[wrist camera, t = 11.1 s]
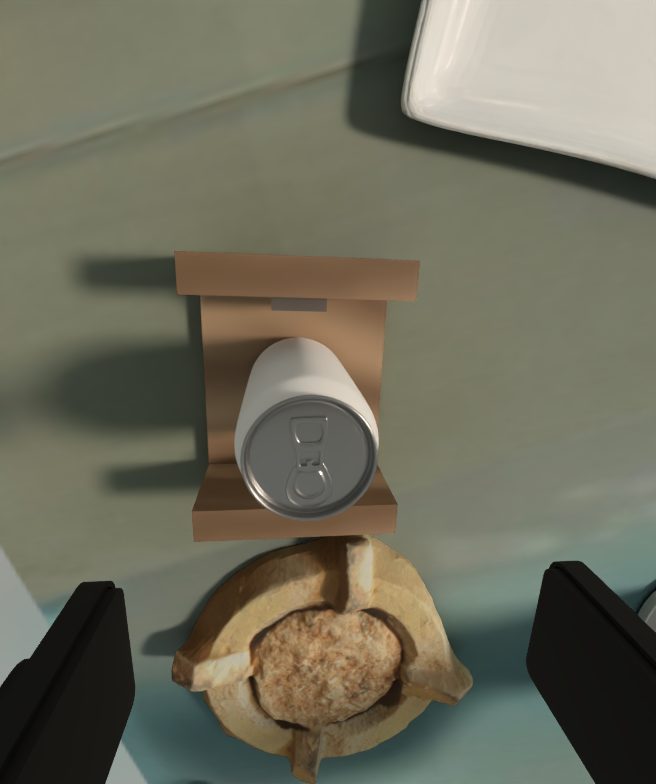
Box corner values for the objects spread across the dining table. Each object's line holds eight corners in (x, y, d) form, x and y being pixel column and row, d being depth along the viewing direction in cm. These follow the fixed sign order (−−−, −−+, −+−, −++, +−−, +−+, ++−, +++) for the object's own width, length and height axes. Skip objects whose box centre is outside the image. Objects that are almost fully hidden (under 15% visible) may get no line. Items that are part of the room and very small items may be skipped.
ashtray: (442, 495, 34) (470, 532, 29) (462, 703, 41) (487, 761, 36) (151, 559, 32) (129, 608, 27) (224, 763, 39) (216, 831, 34)
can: (251, 428, 29) (233, 535, 17) (247, 336, 27) (223, 386, 15) (343, 425, 29) (384, 525, 18) (345, 335, 27) (392, 383, 16)
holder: (370, 478, 32) (394, 533, 25) (212, 482, 30) (194, 541, 24) (385, 263, 27) (419, 260, 21) (200, 256, 26) (174, 251, 19)
